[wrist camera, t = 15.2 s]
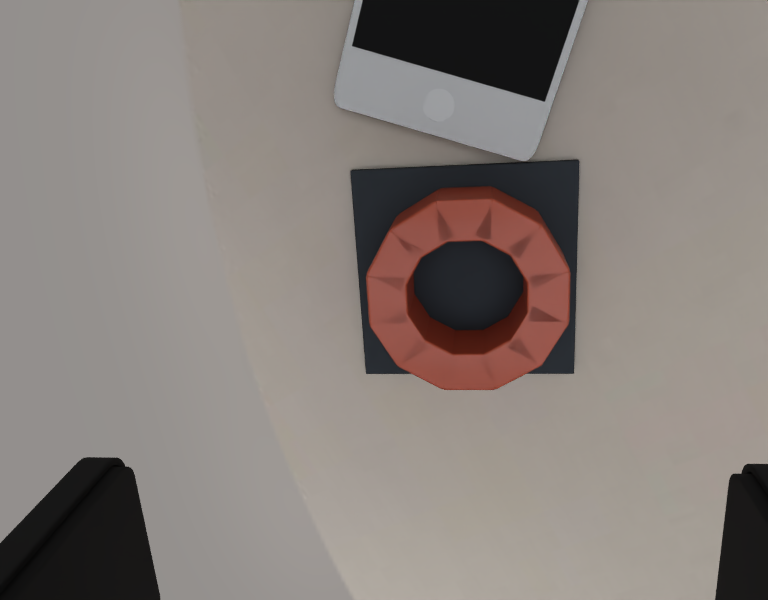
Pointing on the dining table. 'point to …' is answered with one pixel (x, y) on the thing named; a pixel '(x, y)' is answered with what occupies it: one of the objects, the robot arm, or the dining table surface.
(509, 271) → the coaster
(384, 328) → the ring
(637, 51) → the dining table surface
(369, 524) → the dining table surface
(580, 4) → the smartphone
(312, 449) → the dining table surface
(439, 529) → the dining table surface
